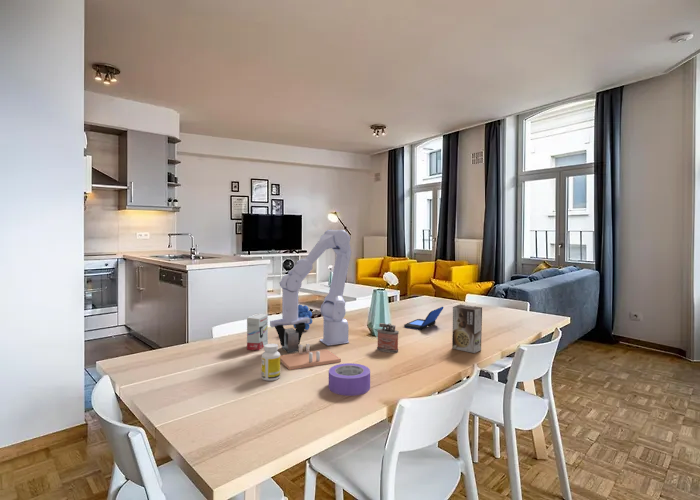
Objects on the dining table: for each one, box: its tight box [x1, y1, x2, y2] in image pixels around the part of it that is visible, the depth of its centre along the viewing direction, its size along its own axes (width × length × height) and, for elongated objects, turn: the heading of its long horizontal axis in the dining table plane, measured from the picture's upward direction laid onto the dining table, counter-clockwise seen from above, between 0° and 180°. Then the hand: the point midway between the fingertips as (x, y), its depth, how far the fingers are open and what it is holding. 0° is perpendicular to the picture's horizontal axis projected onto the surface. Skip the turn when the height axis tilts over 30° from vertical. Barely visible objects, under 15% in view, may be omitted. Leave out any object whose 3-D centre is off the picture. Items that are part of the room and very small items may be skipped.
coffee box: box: [451, 304, 483, 354], centre depth 149 cm, size 9×6×16 cm
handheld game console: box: [403, 306, 444, 331], centre depth 184 cm, size 16×13×9 cm
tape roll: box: [328, 362, 371, 397], centre depth 112 cm, size 12×12×5 cm
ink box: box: [246, 313, 269, 351], centre depth 148 cm, size 9×5×12 cm, turn 168°
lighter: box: [376, 322, 400, 354], centre depth 146 cm, size 8×3×10 cm, turn 65°
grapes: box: [292, 304, 313, 331], centre depth 170 cm, size 12×7×12 cm, turn 139°
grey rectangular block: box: [281, 327, 300, 354], centre depth 146 cm, size 4×7×7 cm, turn 27°
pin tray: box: [280, 343, 342, 371], centre depth 134 cm, size 18×12×4 cm, turn 117°
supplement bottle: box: [261, 343, 281, 382], centre depth 118 cm, size 5×5×10 cm
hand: (290, 344), depth 146 cm, fingers open, 5 cm apart
